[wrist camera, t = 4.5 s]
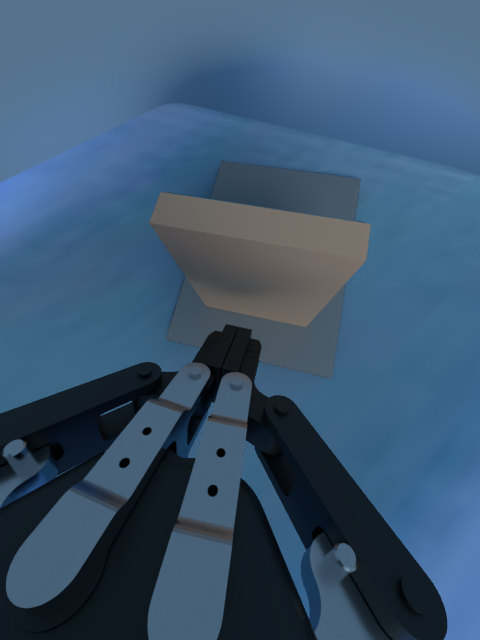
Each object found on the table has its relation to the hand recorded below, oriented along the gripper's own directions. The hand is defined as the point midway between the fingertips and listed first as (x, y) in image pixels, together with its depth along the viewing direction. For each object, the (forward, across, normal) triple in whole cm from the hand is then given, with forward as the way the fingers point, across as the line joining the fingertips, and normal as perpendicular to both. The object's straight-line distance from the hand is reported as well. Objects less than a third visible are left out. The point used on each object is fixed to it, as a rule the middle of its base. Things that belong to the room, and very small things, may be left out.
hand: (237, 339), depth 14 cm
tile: (+10, 0, +3) cm, 10 cm away
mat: (+15, 0, -1) cm, 15 cm away
